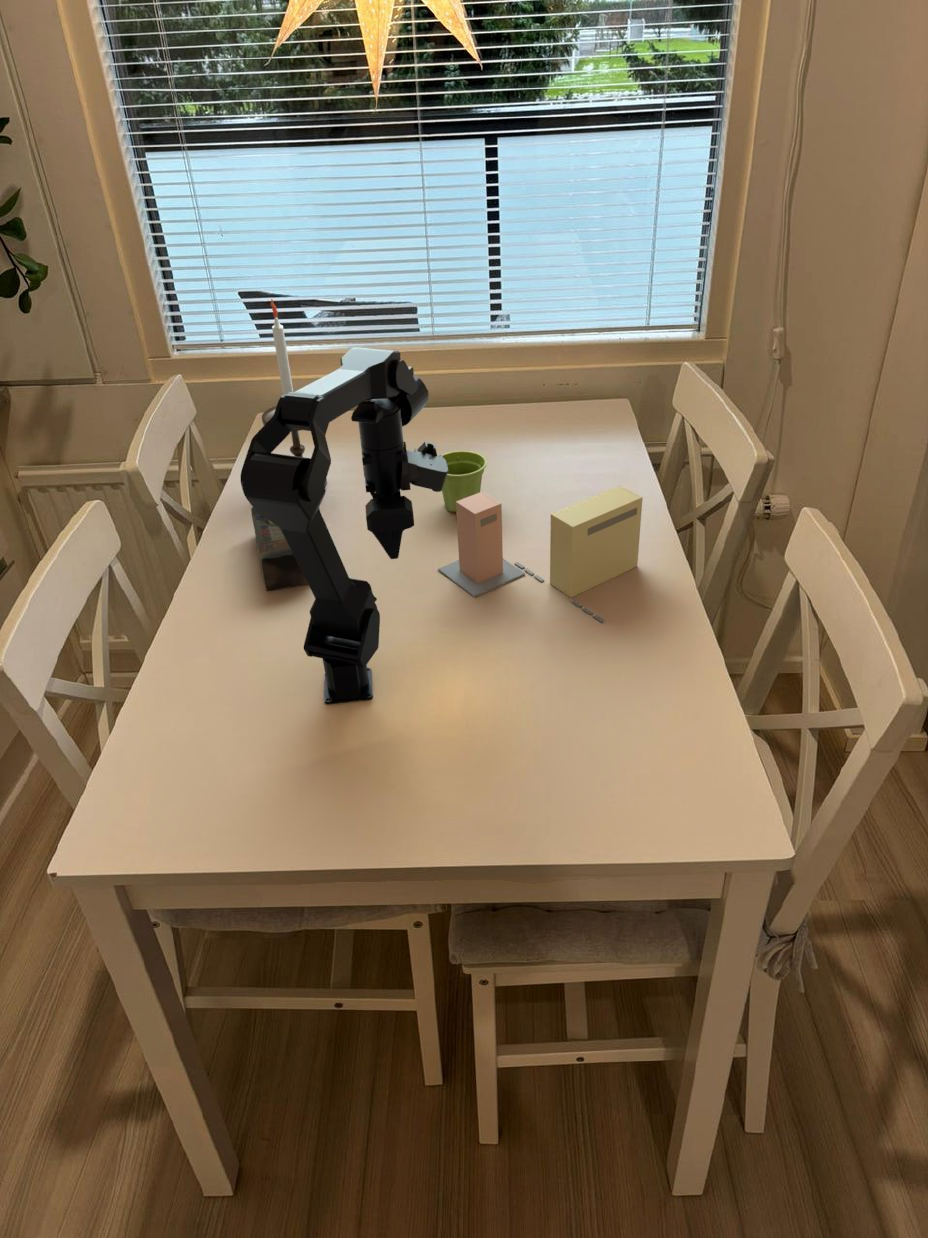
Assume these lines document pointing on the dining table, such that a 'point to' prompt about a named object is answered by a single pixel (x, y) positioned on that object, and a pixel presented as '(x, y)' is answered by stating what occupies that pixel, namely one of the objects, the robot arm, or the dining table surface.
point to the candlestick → (283, 381)
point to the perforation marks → (571, 601)
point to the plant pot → (462, 476)
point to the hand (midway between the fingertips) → (392, 541)
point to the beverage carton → (275, 556)
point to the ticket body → (594, 540)
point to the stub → (480, 536)
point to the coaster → (479, 588)
